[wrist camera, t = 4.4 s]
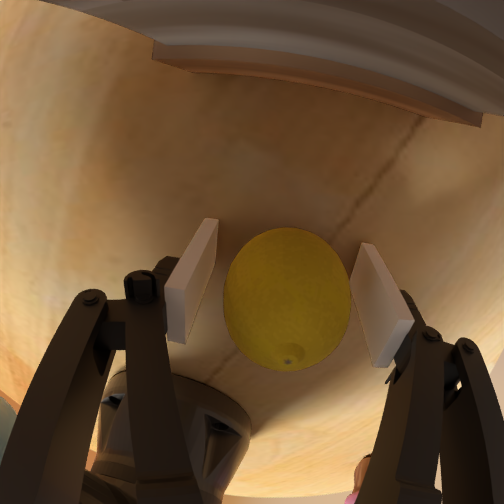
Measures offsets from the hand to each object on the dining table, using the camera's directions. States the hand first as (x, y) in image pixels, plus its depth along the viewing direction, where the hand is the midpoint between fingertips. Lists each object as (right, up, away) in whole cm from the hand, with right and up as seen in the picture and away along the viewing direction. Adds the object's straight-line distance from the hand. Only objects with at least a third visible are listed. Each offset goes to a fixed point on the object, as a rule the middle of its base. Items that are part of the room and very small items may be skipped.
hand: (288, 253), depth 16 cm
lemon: (0, 0, 0) cm, 0 cm away
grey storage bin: (+2, +13, -7) cm, 15 cm away
